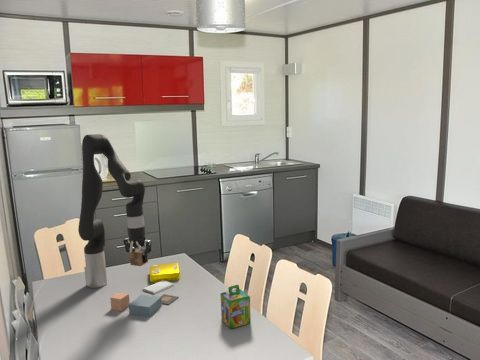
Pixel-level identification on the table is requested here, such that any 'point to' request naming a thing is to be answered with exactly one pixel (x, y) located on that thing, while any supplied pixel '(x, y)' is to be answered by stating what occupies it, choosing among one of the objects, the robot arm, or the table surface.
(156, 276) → the element tile
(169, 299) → the tile
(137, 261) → the walnut cube
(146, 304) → the slate base block
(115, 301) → the terracotta cube
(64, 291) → the table surface
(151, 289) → the hard drive
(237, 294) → the chalk box
